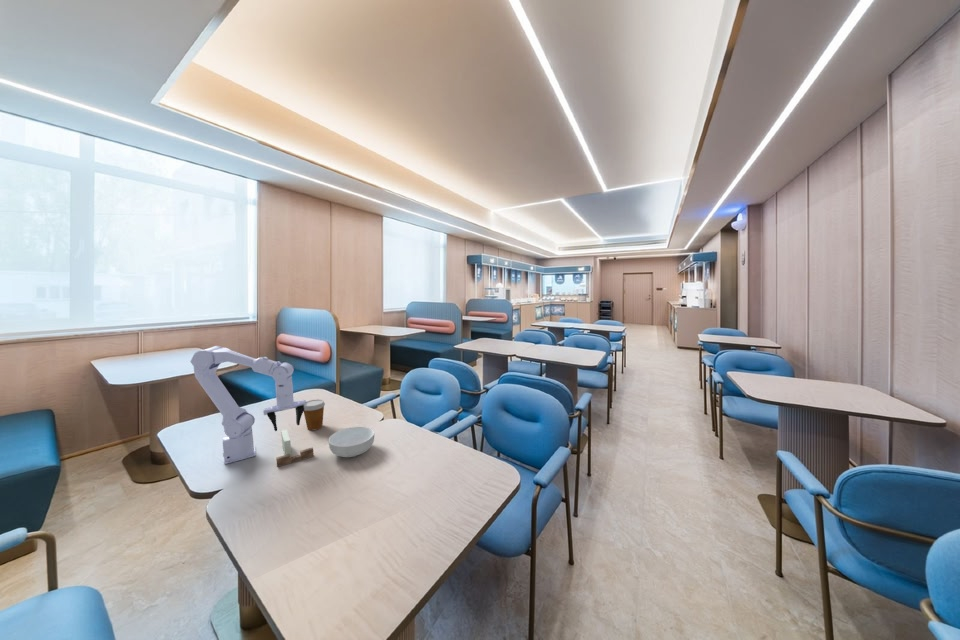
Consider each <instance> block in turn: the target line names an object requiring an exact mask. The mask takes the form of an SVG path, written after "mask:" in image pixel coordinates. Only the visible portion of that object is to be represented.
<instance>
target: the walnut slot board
mask: <svg viewBox="0 0 960 640" xmlns="http://www.w3.org/2000/svg"><path fill="white" fill-rule="evenodd" d="M299 453H300V454H298V455H292V456H291V457H290V454H287V455H284V454H283V455H280V456H276V459H275V460H276V467H278V468H279V467H282V466H286V465H289V464H292V463H295V462H299V461H303V460H305V459H309V458H312V457H314V455H315V454H314V448H313V447H308V448H305V449H302V450H299Z"/></svg>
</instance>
